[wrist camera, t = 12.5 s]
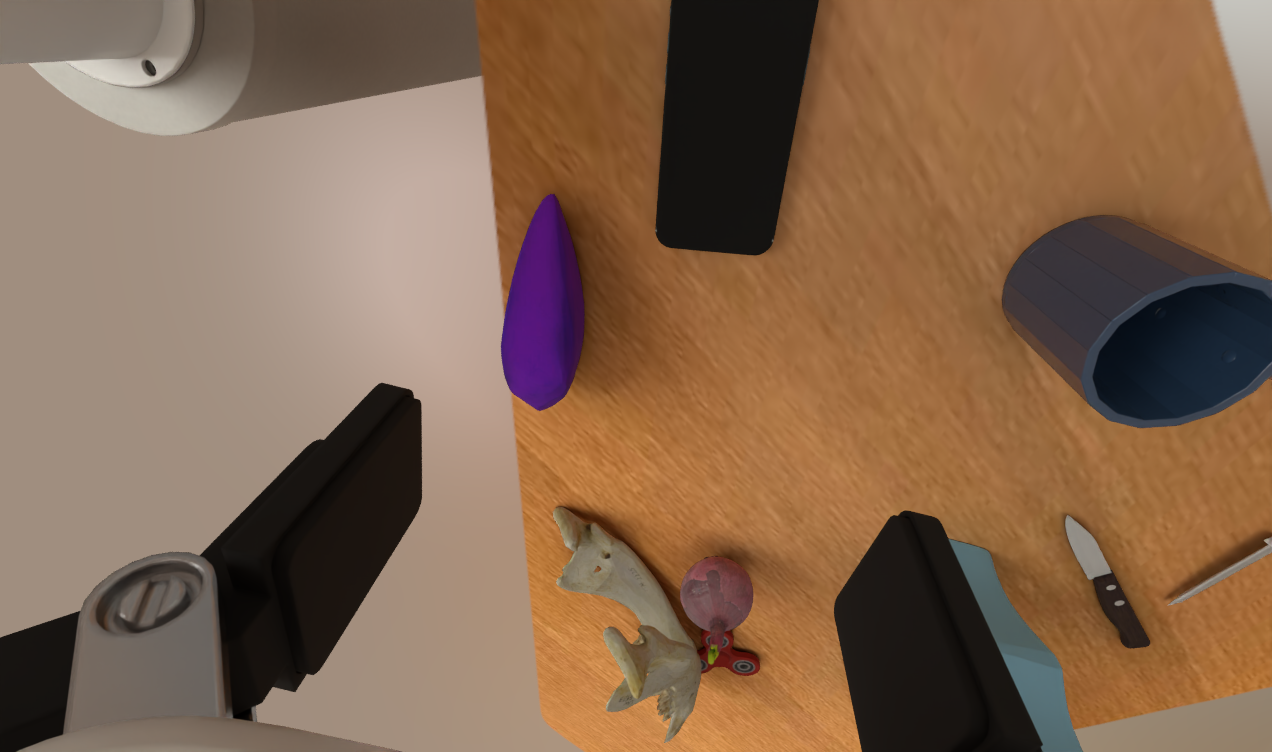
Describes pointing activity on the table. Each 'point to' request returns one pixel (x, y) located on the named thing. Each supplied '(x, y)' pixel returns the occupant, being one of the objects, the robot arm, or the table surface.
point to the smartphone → (729, 120)
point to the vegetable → (716, 598)
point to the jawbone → (661, 632)
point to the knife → (1226, 572)
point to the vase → (1021, 652)
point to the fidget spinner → (728, 657)
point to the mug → (1142, 320)
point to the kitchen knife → (1106, 586)
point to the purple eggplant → (544, 312)
